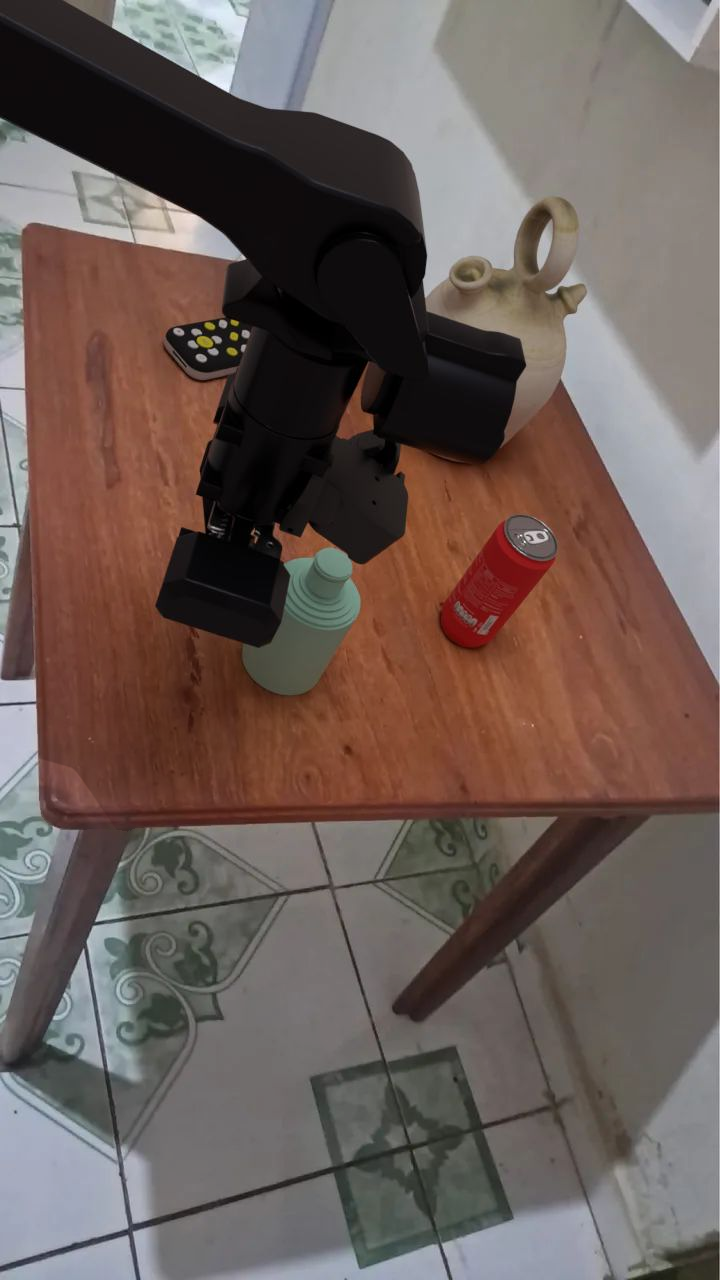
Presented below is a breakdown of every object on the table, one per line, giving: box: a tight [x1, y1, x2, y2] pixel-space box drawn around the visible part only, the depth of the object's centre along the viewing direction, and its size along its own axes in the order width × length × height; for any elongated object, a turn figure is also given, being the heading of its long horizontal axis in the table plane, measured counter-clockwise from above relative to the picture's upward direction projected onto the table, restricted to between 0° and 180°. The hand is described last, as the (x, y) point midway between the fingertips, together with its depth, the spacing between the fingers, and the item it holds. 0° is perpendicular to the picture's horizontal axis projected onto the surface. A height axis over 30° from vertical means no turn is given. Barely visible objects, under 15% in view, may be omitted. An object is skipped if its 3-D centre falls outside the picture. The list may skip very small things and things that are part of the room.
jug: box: [425, 195, 588, 464], centre depth 90 cm, size 15×16×25 cm
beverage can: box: [440, 513, 559, 649], centre depth 78 cm, size 5×5×12 cm
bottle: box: [241, 547, 361, 696], centre depth 69 cm, size 6×6×12 cm
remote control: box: [163, 316, 253, 381], centre depth 92 cm, size 6×13×2 cm, turn 131°
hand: (211, 588), depth 60 cm, fingers closed on cap, 4 cm apart
